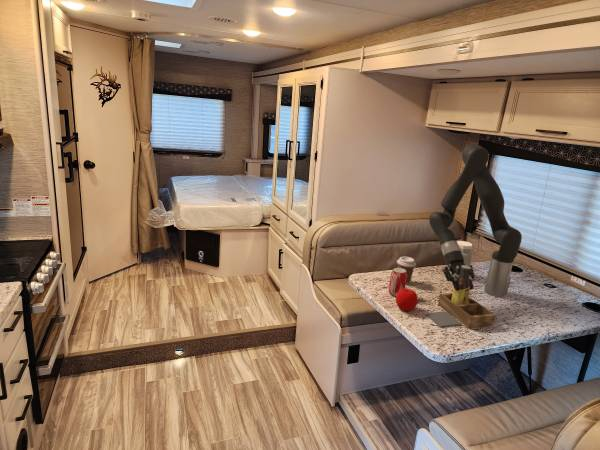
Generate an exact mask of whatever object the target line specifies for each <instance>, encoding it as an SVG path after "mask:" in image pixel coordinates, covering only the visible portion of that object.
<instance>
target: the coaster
mask: <svg viewBox="0 0 600 450" xmlns="http://www.w3.org/2000/svg"><path fill="white" fill-rule="evenodd" d="M424 315H425V316H426V317H428V319H430V320H431V321H432V322H433V323H434V324H436V326H437V327H439V328H446V327H447V328H448V327H456V326H461V325H462V323H460V322H459V321H458V320H457V319H455V318H454V317H453V316H452V315H450V314H449V313H448V312H447V311H445V310H443V311H436V312H425V314H424Z"/></svg>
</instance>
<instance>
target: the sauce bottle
mask: <svg viewBox="0 0 600 450" xmlns="http://www.w3.org/2000/svg"><path fill="white" fill-rule="evenodd" d="M470 271H471V267H469V266H466V265H462V266H461V271H460V276H459V277H458V278H457V281H458V284H459V286H460V290H458V291H456V290H455V289H454V288H453V290H452V293H453V294H452V299H451V301H452V302H453V303H454V304H456V305H463V304H467V300H468V296H469V295H470V291H471V290H470V286H471V285H470V280H469V275H470ZM469 297H470V296H469Z"/></svg>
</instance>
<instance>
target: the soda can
mask: <svg viewBox="0 0 600 450" xmlns="http://www.w3.org/2000/svg"><path fill="white" fill-rule="evenodd" d="M392 269H393V270H392V271H391V273H390V278H389V285H388V293H389V294H390V295H391V296H392V297H396V295H397V293H398V292H399V291H400V290H401V289H406V287H407V286H406V285H407V284H406V279H407V273H406V270H405V269H403V268H398V267H394V268H392Z"/></svg>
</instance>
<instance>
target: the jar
mask: <svg viewBox="0 0 600 450" xmlns="http://www.w3.org/2000/svg"><path fill="white" fill-rule="evenodd" d="M456 241H457V243H458V245H459V247H460V250H461V252H462V255H463V258H464V264H465V265H466V266H470V265H471V262H472V258H473V253H472V249H473V244H472V243H471V242H469V241H465V240H456ZM450 273H451V271H450ZM459 276H460V275H458V276H457V278H458V277H459Z"/></svg>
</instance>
